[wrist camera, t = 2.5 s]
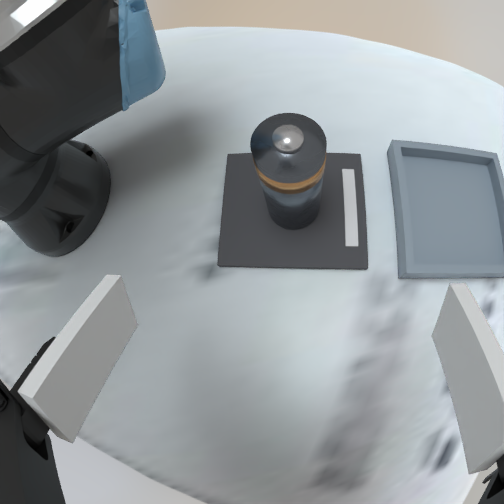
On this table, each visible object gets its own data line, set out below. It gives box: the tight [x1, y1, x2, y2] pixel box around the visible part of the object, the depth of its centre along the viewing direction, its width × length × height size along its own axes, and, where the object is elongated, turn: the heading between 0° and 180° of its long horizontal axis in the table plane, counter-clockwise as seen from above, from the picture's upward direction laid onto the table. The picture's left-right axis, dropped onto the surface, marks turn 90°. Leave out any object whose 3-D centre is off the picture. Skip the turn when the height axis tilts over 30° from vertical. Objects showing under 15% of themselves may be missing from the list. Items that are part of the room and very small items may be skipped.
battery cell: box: [250, 113, 326, 230], centre depth 25 cm, size 5×5×12 cm
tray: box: [387, 140, 504, 278], centre depth 27 cm, size 14×14×2 cm
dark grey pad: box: [217, 153, 368, 269], centre depth 31 cm, size 14×12×1 cm
